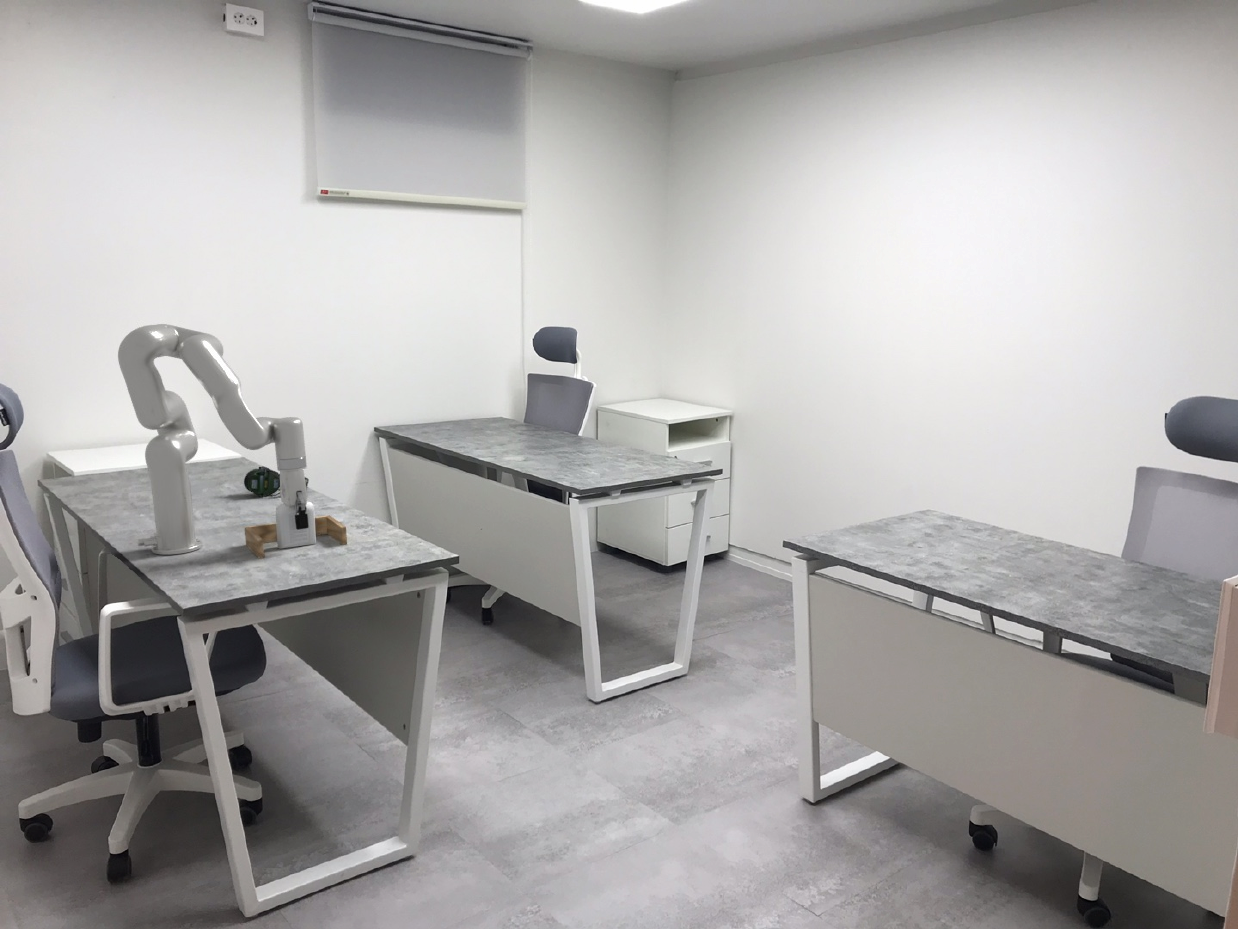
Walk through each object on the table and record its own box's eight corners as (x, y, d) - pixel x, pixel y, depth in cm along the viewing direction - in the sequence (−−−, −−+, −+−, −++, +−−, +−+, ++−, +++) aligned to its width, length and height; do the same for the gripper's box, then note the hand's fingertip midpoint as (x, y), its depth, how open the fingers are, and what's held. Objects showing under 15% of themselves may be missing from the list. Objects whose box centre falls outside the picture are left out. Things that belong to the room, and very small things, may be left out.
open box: (259, 558, 251) (257, 540, 250) (246, 544, 264) (244, 527, 263) (347, 544, 263) (346, 526, 262) (330, 532, 276) (329, 515, 275)
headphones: (257, 486, 311) (317, 486, 324) (249, 453, 317) (307, 455, 330) (245, 509, 319) (303, 509, 332) (237, 477, 325) (294, 478, 338)
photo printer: (313, 540, 267) (310, 497, 265) (318, 544, 264) (315, 500, 261) (275, 546, 262) (272, 502, 259) (280, 550, 258) (276, 505, 256)
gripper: (269, 460, 263) (275, 520, 267) (285, 470, 249) (291, 534, 252) (297, 457, 267) (302, 516, 271) (314, 466, 253) (320, 529, 256)
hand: (297, 525), depth 262 cm, fingers open, 9 cm apart
